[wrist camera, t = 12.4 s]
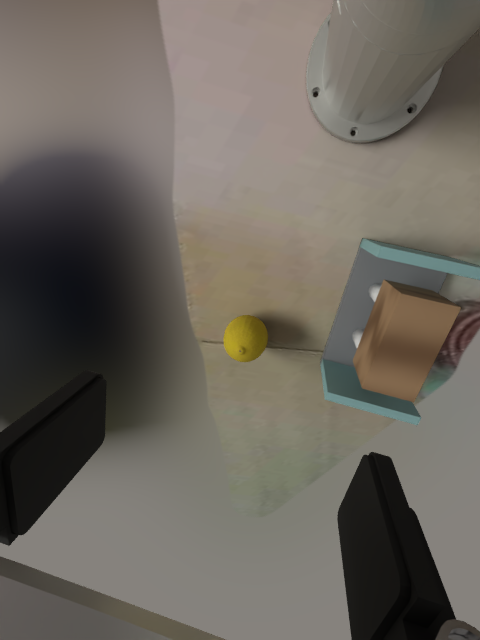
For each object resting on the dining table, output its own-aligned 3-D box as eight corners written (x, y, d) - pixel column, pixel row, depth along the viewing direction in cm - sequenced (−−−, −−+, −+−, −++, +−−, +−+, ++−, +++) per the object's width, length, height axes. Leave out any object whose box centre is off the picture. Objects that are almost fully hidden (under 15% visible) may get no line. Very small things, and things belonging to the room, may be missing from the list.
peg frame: (362, 238, 35) (381, 246, 27) (450, 257, 34) (498, 271, 26) (320, 361, 41) (325, 399, 33) (393, 381, 40) (417, 425, 32)
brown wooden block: (383, 279, 32) (401, 293, 26) (432, 290, 31) (461, 307, 25) (352, 360, 35) (362, 388, 30) (395, 371, 35) (413, 402, 29)
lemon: (278, 330, 41) (274, 356, 34) (248, 351, 43) (238, 380, 36) (252, 299, 40) (241, 319, 33) (223, 323, 42) (207, 346, 35)
